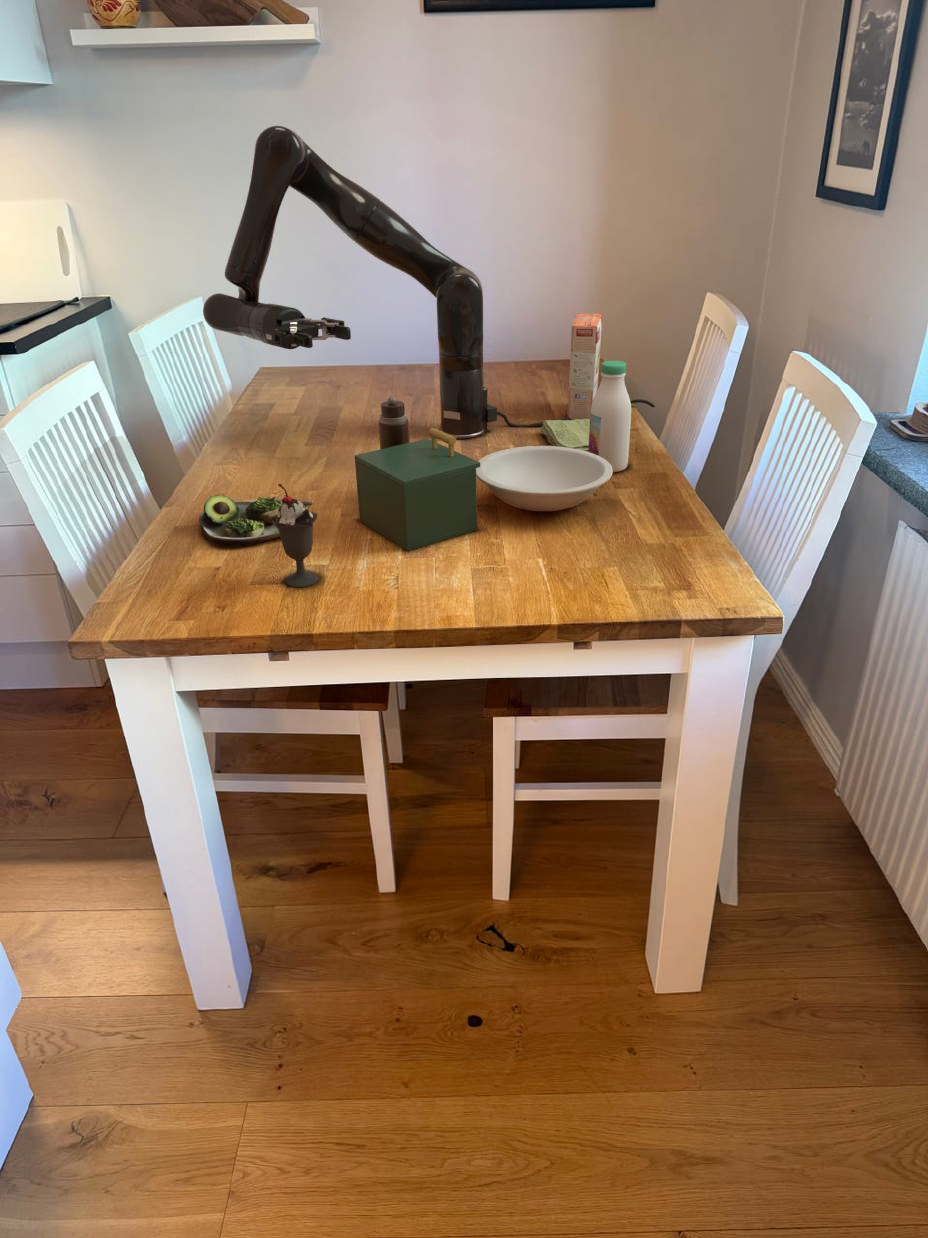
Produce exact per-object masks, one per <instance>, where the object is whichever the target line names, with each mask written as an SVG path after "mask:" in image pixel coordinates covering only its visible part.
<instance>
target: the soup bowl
mask: <svg viewBox="0 0 928 1238" xmlns="http://www.w3.org/2000/svg"><path fill="white" fill-rule="evenodd" d="M477 461H478V462H480V467H478V468H476V479H478V480H479V481H480V482H482V483H483V484H485V485H486V487H487V488H488V489H489V490H490V492H491V493H492V494H493V495H494V496H495V497H496V498H498V499H499V500H500V501H503V502H504V503H505V504H507V505H509V506H512V507H514V508H517V509H522V510H526V511H530V512H531V511H533V512H556V511H562V510H566V509H569V508H573V507H575V506H576V507H577V506H578V505H580V504H581V503H583V502H585V501H587V500H588V499H589V498H590V497H591V496H593V495H594V494H595V493H596V491H598V489H599V487H601V486H603V485H604V484H606V483H608V482H609V480H611V478H612V476H613V473H614V472H613V469H612V466H611V464H610V463H609V462H608V461H606V460H605V459H604V458H602V457H600V456H598V455H595V454H593V453H590V452H586V451H583V450H578V449H573V448H567V447H558V446H553V445H527V446H526V445H525V446H517V447H511V448H506V449H501V450H498V451H493V452H492V453H489V454H487V455H484V456H483V457H481V458H480V459H479V460H477Z"/></svg>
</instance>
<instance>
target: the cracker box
mask: <svg viewBox="0 0 928 1238" xmlns="http://www.w3.org/2000/svg"><path fill="white" fill-rule="evenodd" d="M602 324H603V314H601V313H581V312H580V313H577V315H576V317H575V319H574V321H573V323H572V324H571V334H570V336H571V337H570V353H569V376H568V394H567V411H566V412H567V416H566V418H571V420H575V419H578V420H579V419H590V414H591V406H592V402H593V399H594V396H595V394H596V392H597V390H598V388H599V372H600V357H601V343H602V342H601V341H602V326H603V325H602Z"/></svg>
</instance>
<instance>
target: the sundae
mask: <svg viewBox="0 0 928 1238" xmlns="http://www.w3.org/2000/svg"><path fill="white" fill-rule="evenodd" d="M277 486H278V487H280V488H281V489H282V490H283V491H284V494H285V496H284V497H282V498H281V499H282V505H281V507H279V509H278V514H277V515H274V516H273V517H272V518H271V522H272V523H273V524H274V526H276V527H277V529H278V530H279V534H280V537H279V538H280V542H281V544H282V548H283V550H284V553H285V555H286V556H288V557H289V558H290V559H292V560H294V561H295V567H296V571H295V572H293V573H291V574H289V575H288V576H287V577H285V580H284V581H285V584H286V585H287V586H289V587H292V588H306V587H310V586H313V585H315V584H316V583H317V582H318V581H319V575H318V574H316V573H314V572H312V571H307V570H306V568H305V561H304V560H305V559H306V558H307V557H308V556H309V555H310V554H311V553H312V551H313V543H314V540H313V539H314V524H315V523H316V521H317V520H318V513H316V512H313V511H311V510H309V508H306V507H304V505H303V503H301V502H300V500H298V499H295V498H293V497H292V496H289V495H288V492H287V490H286V488H285V487H284V486H283V484H282V483H278V484H277Z"/></svg>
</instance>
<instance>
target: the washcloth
mask: <svg viewBox="0 0 928 1238" xmlns="http://www.w3.org/2000/svg"><path fill="white" fill-rule="evenodd" d="M543 422H544V423H543V425H542V426H541V428H540V432H541V434H542V435H543V436H545V438H546V440H547V442H548V443H549V444H550V445H551V446H558V447H567V448H573V449H578V450H583V451H586V452H588V446H589V428H590V419H579V420H578V419H575V420H566V421H564V420H563V421H562V419H554V420H553V419H549V420H547V419H546V420H544V421H543Z"/></svg>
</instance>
